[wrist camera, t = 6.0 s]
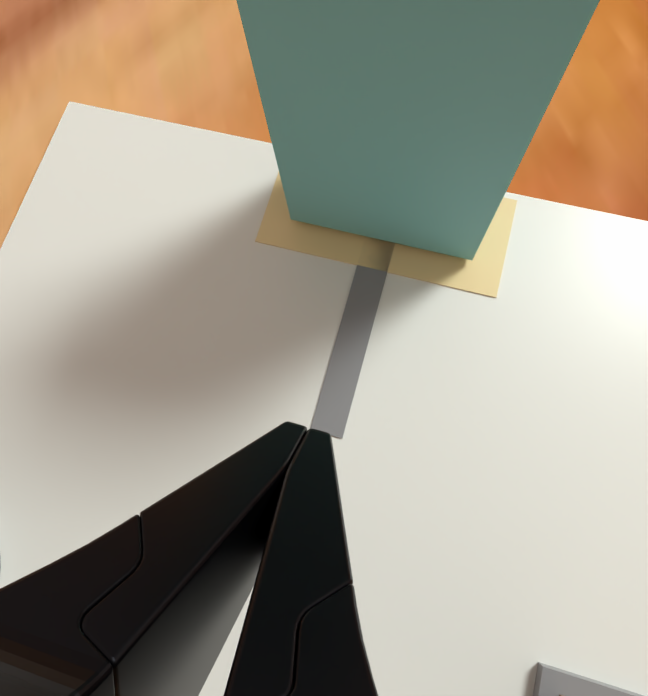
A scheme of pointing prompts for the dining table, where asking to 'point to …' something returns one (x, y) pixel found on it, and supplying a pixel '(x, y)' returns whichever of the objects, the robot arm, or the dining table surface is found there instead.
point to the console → (341, 398)
